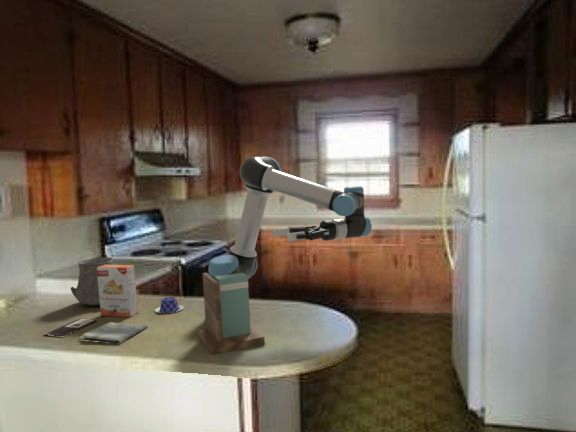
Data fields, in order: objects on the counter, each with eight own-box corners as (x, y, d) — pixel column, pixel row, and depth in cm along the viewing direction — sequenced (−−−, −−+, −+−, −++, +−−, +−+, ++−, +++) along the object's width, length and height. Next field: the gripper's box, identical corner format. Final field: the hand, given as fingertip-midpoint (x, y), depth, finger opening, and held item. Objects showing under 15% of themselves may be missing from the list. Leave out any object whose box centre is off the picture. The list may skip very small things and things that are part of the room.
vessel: (80, 314, 199) (76, 267, 197) (69, 303, 217) (65, 260, 215) (131, 303, 212) (128, 259, 210) (116, 294, 230) (113, 253, 227)
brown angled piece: (248, 327, 172) (244, 267, 170) (264, 344, 156) (261, 277, 154) (199, 336, 166) (195, 274, 163) (211, 354, 149) (207, 285, 147)
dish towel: (149, 328, 178) (148, 320, 178) (120, 346, 161) (119, 337, 161) (108, 326, 183) (107, 318, 183) (75, 343, 166) (74, 334, 166)
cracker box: (100, 316, 194) (95, 267, 192) (108, 312, 200) (104, 264, 198) (130, 318, 191) (126, 267, 188) (138, 313, 196) (134, 264, 194)
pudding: (150, 310, 201) (150, 298, 201) (177, 304, 208) (176, 293, 207) (160, 316, 191) (159, 304, 191) (188, 310, 198) (187, 298, 198)
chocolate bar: (43, 334, 174) (78, 319, 191) (43, 337, 174) (78, 321, 191) (62, 336, 171) (97, 320, 188) (63, 338, 171) (97, 322, 188)
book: (218, 333, 160) (214, 276, 158) (246, 328, 164) (243, 272, 162) (221, 338, 156) (218, 279, 154) (250, 333, 160) (247, 275, 157)
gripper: (349, 244, 165) (294, 250, 157) (318, 235, 188) (268, 241, 180) (348, 222, 164) (293, 228, 156) (317, 217, 187) (267, 221, 179)
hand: (279, 235), depth 168 cm, fingers open, 13 cm apart
